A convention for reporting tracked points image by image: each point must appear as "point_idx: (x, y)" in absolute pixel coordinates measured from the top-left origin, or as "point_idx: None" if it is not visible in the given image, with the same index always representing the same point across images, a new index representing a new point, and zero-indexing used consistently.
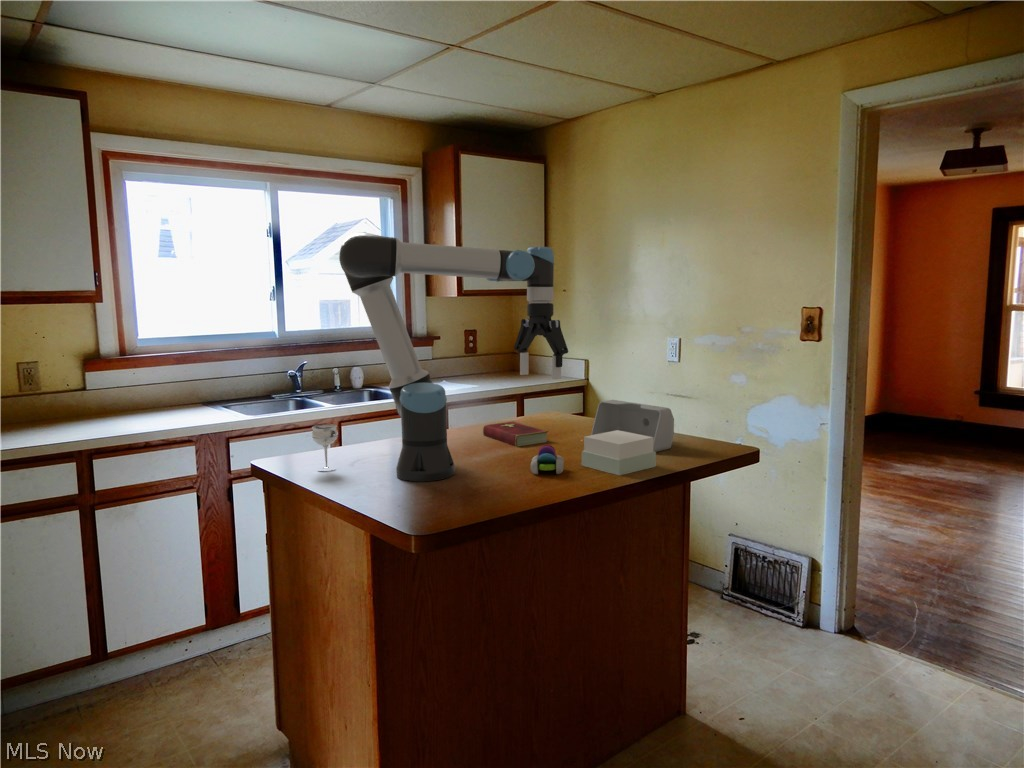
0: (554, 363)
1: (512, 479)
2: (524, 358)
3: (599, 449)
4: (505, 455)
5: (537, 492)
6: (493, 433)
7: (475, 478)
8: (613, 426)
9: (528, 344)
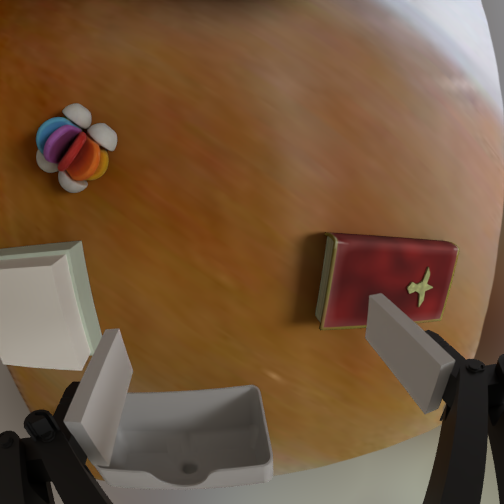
0: (79, 387)
1: (82, 58)
2: (414, 363)
3: (21, 261)
4: (268, 155)
5: (3, 67)
6: (420, 240)
7: (138, 4)
8: (259, 442)
9: (441, 448)
